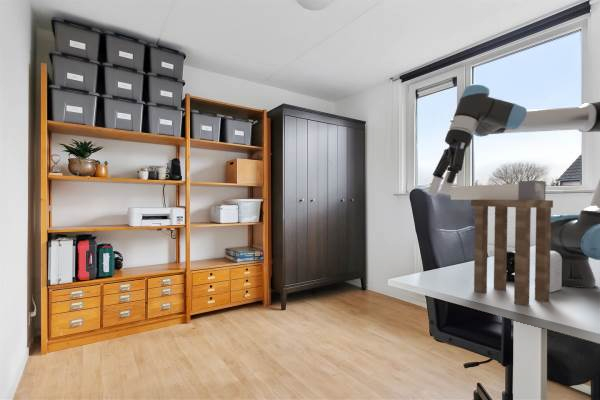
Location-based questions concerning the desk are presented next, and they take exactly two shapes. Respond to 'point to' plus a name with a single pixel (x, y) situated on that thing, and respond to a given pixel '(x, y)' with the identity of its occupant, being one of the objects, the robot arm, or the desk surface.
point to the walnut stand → (520, 247)
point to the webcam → (510, 266)
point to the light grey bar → (501, 191)
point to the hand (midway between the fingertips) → (437, 194)
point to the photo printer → (555, 271)
